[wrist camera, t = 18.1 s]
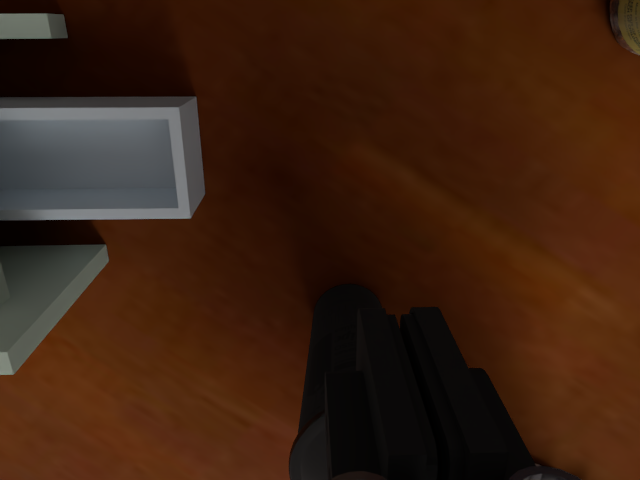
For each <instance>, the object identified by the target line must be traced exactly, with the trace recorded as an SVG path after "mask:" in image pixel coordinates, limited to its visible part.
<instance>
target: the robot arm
mask: <svg viewBox="0 0 640 480" xmlns="http://www.w3.org/2000/svg"><path fill="white" fill-rule="evenodd" d="M325 433H326V454H327V472H328V480H581V479H579V478H578V477H576V476H574V475H572V474H570V473H567V472H565V471H563V470H560V469H556V468H551V467H546V466H541V465H539V464H536V463H534V461H533V459H532V457H531V455H530V453H529V451H528V450H527V448H526V446H525V444H524V442H523V440H522V438H521V436H520V435H519V433H518V431H517V429H516V427H515V425H514V423H513V421H512V420H511V418H510V416H509V414H508V412H507V410H506V408H505V406H504V405H503V403H502V401H501V399H500V397H499V395H498V393H497V391H496V390H495V388H494V386H493V384H492V382H491V380H490V378H489V376H488V375H487V373H486V372H485V370H483V369H481V368H468V367H467V365H466V363H465V360H464V358H463V356H462V354H461V352H460V350H459V348H458V346H457V344H456V342H455V340H454V338H453V336H452V334H451V332H450V330H449V328H448V326H447V323H446V321H445V319H444V317H443V315H442V313H441V311H440V309H439V308H438V307H412V308H411V309H410V313H409V314H402V315H401V320H400V329H399V326H398V323H397V320H396V317H395V315H387V314H386V311H385V309H384V308H364V309H358V314H357V349H356V371H337V372H325Z"/></svg>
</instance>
